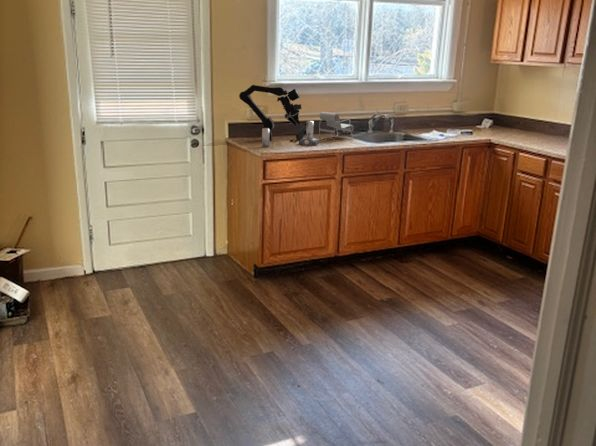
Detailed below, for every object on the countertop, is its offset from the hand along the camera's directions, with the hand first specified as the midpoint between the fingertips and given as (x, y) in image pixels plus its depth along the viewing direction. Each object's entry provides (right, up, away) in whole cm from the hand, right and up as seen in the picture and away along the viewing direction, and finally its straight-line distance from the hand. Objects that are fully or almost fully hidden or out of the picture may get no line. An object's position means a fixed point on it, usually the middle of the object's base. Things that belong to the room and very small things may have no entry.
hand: (297, 125), depth 395 cm
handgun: (+4, -7, +18) cm, 20 cm away
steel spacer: (+8, -10, -2) cm, 13 cm away
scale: (+8, -13, -3) cm, 16 cm away
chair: (+28, -7, +23) cm, 37 cm away
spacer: (-21, -18, -20) cm, 34 cm away
